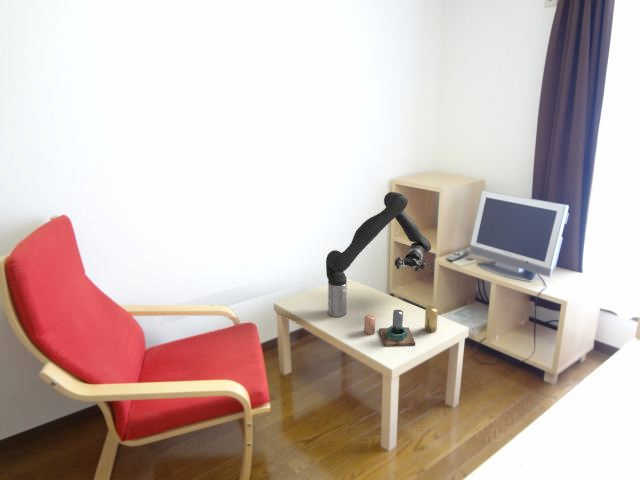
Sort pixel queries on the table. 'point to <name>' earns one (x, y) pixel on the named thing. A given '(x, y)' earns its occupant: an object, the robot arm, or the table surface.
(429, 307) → the brass peg
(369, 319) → the terracotta peg
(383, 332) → the ring board
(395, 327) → the steel peg
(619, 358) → the table surface
